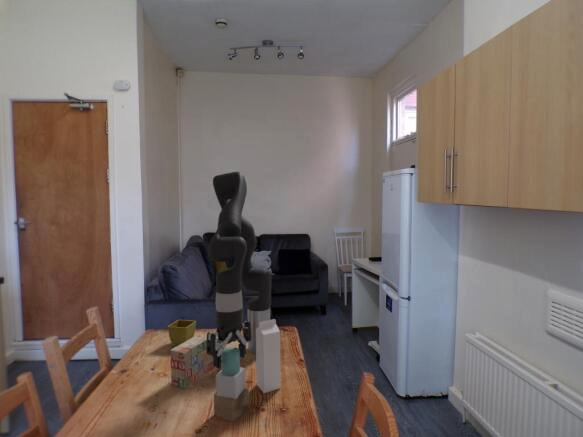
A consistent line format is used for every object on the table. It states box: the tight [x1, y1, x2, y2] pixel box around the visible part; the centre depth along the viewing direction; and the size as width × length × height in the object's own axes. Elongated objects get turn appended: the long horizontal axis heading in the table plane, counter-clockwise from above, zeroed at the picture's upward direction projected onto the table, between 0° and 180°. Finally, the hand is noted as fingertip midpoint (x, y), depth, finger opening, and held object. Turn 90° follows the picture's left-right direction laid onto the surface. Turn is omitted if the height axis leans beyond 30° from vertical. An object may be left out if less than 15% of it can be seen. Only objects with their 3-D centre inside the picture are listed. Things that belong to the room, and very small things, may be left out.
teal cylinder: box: [221, 346, 241, 376], centre depth 98 cm, size 5×5×6 cm
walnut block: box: [213, 388, 250, 424], centre depth 99 cm, size 7×7×6 cm
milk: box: [255, 318, 282, 394], centre depth 112 cm, size 6×6×22 cm
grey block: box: [215, 366, 246, 399], centre depth 98 cm, size 6×6×6 cm
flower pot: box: [167, 319, 197, 347], centre depth 147 cm, size 9×9×9 cm
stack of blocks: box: [170, 336, 223, 389], centre depth 122 cm, size 21×6×12 cm, turn 156°
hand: (230, 362), depth 98 cm, fingers open, 8 cm apart
